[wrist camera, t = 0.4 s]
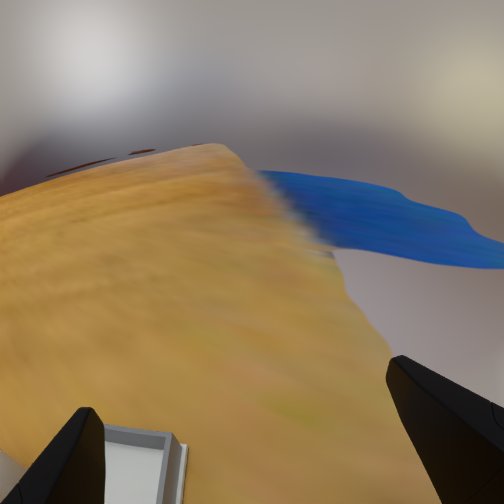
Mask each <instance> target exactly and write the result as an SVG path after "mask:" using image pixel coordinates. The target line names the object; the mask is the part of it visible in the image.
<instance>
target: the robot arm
mask: <svg viewBox="0 0 504 504" xmlns="http://www.w3.org/2000/svg"><path fill="white" fill-rule="evenodd" d="M386 383H387V386H388V388H389V391H390V393H391V396H392V398H393V401H394V404H395V406H396V409H397V412H398V414H399V417H400V419H401V422H402V424H403V426H404V428H405V430H406V432H407V434H408V435H409V437H410V439H411V441H412V443H413V445H414V447H415V449H416V451H417V453H418V455H419V457H420V459H421V461H422V463H423V465H424V467H425V469H426V471H427V473H428V475H429V477H430V479H431V482H432V484H433V486H434V488H435V490H436V492H437V494H438V496H439V498H440V500H441V503H442V504H504V408H503V407H501V406H499V405H497V404H495V403H493V402H491V403H490V401H489V400H487V399H485V398H483V397H481V396H479V395H478V394H476V393H474V392H472V391H470V390H468V389H466V388H464V387H462V386H460V385H458V384H456V383H454V382H453V381H451V380H449V379H447V378H445V377H443V376H441V375H440V374H438V373H436V372H434V371H432V370H430V369H428V368H426V367H425V366H423V365H421V364H419V363H417V362H415V361H413V360H412V359H410V358H408V357H406V356H404V355H400V356H397V357H394V358H391V360H390V361H389V365H388V369H387V373H386ZM105 481H106V460H105V428H104V424H103V422H102V421H101V419H100V418H99V416H98V415H97V413H96V412H95V410H94V409H93V408H91V407H80V408H79V409H78V410H77V411H76V412H75V413H74V414H73V416H72V417H71V418H70V419H69V420H68V422H67V423H66V424H65V425H64V426H63V427H62V429H61V430H60V431H59V432H58V433H57V435H56V436H55V437H54V438H53V439H52V441H51V442H50V443H49V444H48V446H47V447H46V448H45V449H44V450H43V452H42V453H41V454H40V455H39V456H38V458H37V459H36V460H35V461H34V463H33V464H32V465H31V466H30V468H29V469H28V470H27V471H26V472H25V474H24V475H23V476H22V477H21V479H20V480H19V483H17V484H16V485H15V486H14V487H13V489H12V490H11V491H10V492H9V493H8V495H7V496H6V497H5V498H4V499H3V500H2V502H1V503H0V504H104V503H105Z"/></svg>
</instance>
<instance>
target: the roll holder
mask: <svg viewBox="0 0 504 504" xmlns="http://www.w3.org/2000/svg"><path fill="white" fill-rule="evenodd" d="M104 428H105V460H106V481H105V503H104V504H182V499H183V489H184V480H185V471H186V463H187V454H188V446H187V444H180V443H179V442H178V440H177V439H176V437H175V436H174V435H173V433H171V432H161V431H151V430H143V429H135V428H128V427H121V426H115V425H109V424H104Z"/></svg>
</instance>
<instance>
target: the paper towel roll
mask: <svg viewBox="0 0 504 504" xmlns="http://www.w3.org/2000/svg"><path fill="white" fill-rule="evenodd" d="M27 470H28V468H26V467H25V466H23V465H22V464H20V463H19V462H17V461H16V460H14V459H13V458H11V457H10V456H9V455H7V454H6V453H5V452H3V451H2V450H1V449H0V503H1V502H2V500H3V499H4V498H5V497H6V496H7V495H8V493H9V492H10V491H11V490H12V489H13V487H14V486H15V485H16V484H17V483H19V480H20V479H21V477H22V476H23V475H24V474H25V472H26V471H27Z"/></svg>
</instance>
